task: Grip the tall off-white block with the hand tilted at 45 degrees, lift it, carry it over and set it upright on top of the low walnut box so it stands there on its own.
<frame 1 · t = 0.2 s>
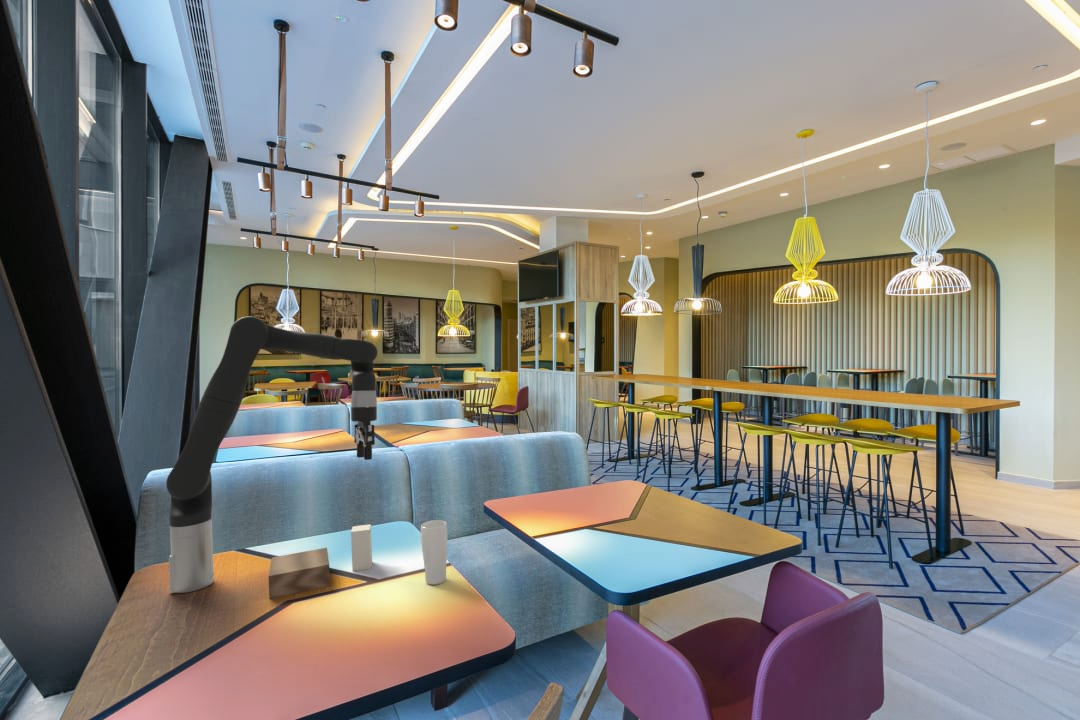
hand: (364, 458, 154), 29 cm above the table, tool pointing down, fingers open, 8 cm apart
offwhite block: (362, 566, 142), on the table
walnut box: (300, 583, 134), on the table
drinking glass: (436, 582, 130), on the table
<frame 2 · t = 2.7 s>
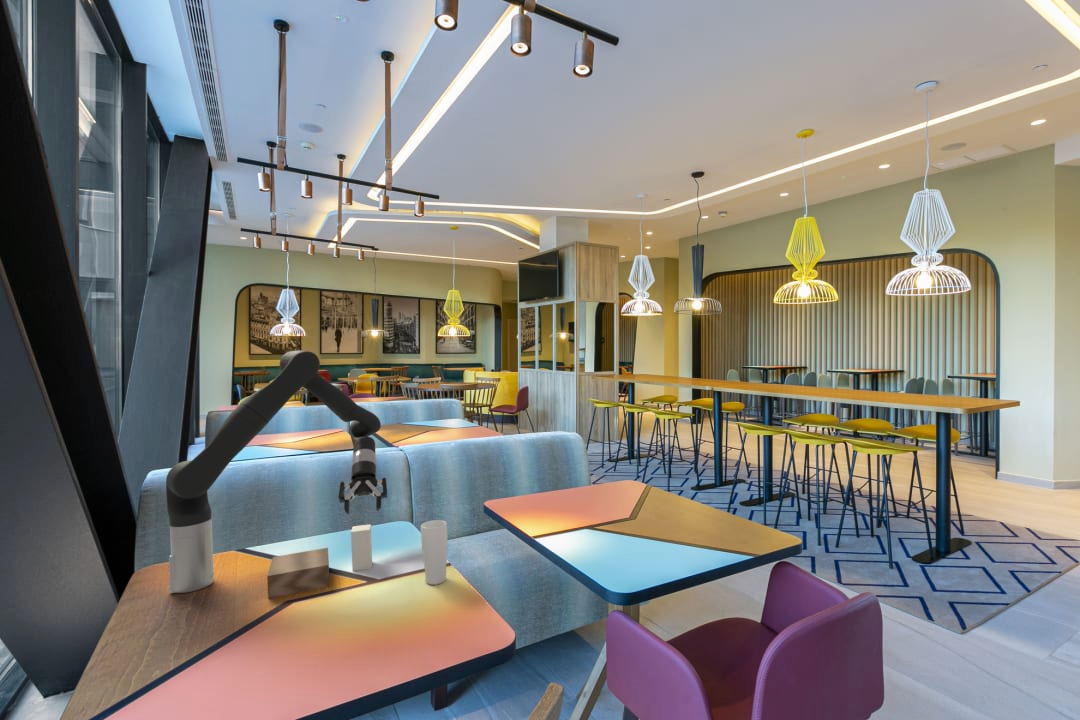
hand: (363, 511, 151), 13 cm above the table, tool tilted 45°, fingers open, 8 cm apart
nothing on the table moved.
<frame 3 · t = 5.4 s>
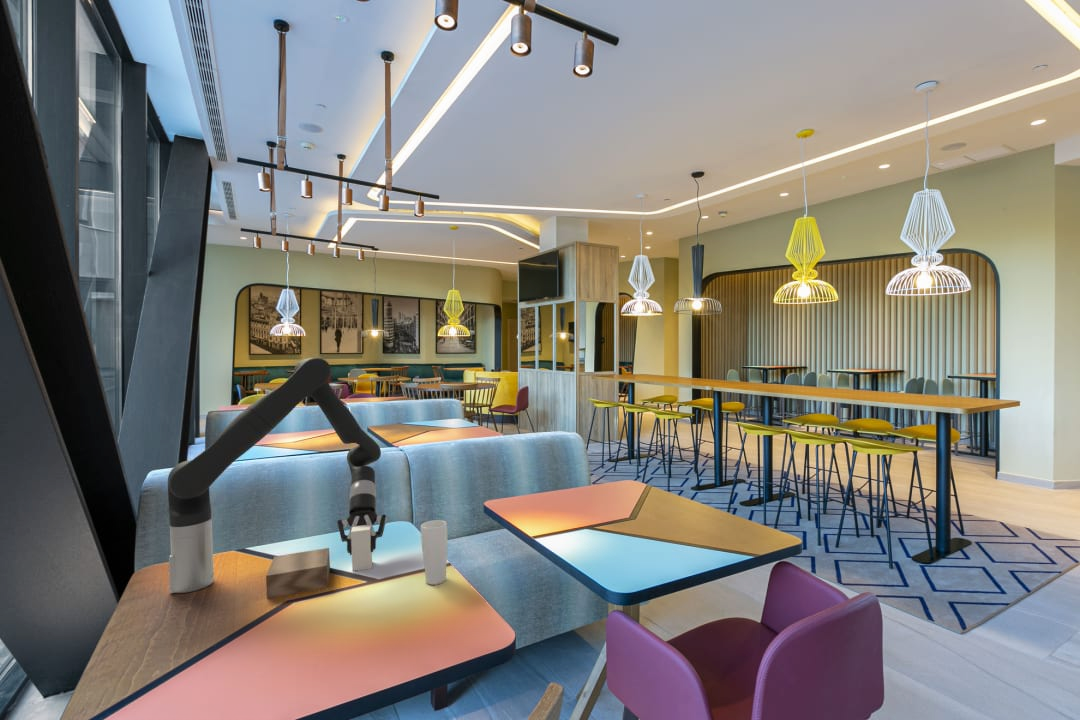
hand: (361, 551, 141), 5 cm above the table, tool tilted 45°, fingers closed on offwhite block, 5 cm apart
offwhite block: (362, 566, 142), on the table, touching gripper
everything else where it was.
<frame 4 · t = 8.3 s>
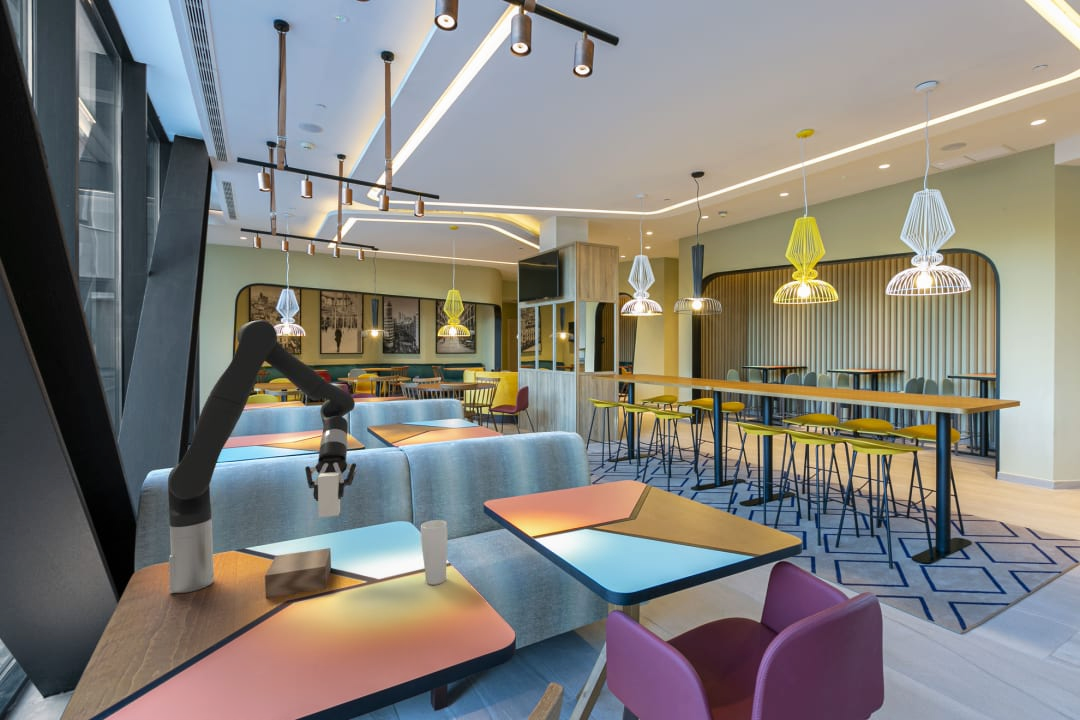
hand: (328, 498, 136), 21 cm above the table, tool tilted 45°, fingers closed on offwhite block, 5 cm apart
offwhite block: (329, 514, 138), point 17 cm above the table, touching gripper
everything else where it was.
when the fingers open (12 cm above the table, at t = 11.2 s): offwhite block drops 2 cm, resting on walnut box.
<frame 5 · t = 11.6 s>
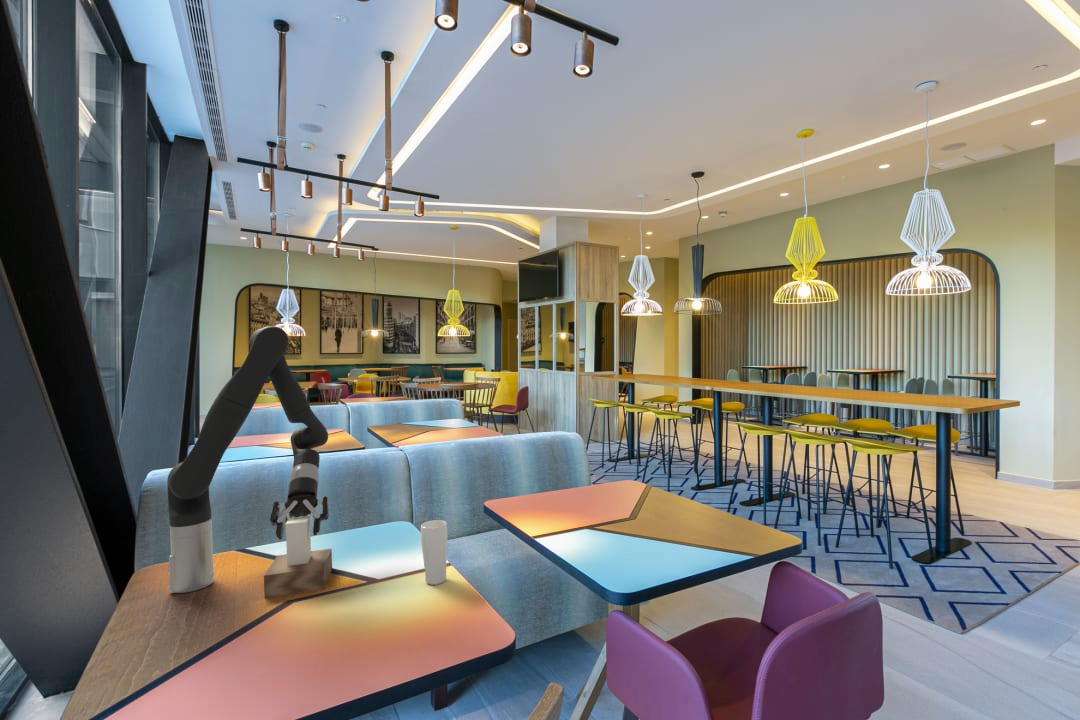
hand: (297, 535, 132), 13 cm above the table, tool tilted 45°, fingers open, 8 cm apart
offwhite block: (299, 561, 134), point 6 cm above the table, touching walnut box
walnut box: (300, 583, 134), on the table, touching offwhite block
everything else where it was.
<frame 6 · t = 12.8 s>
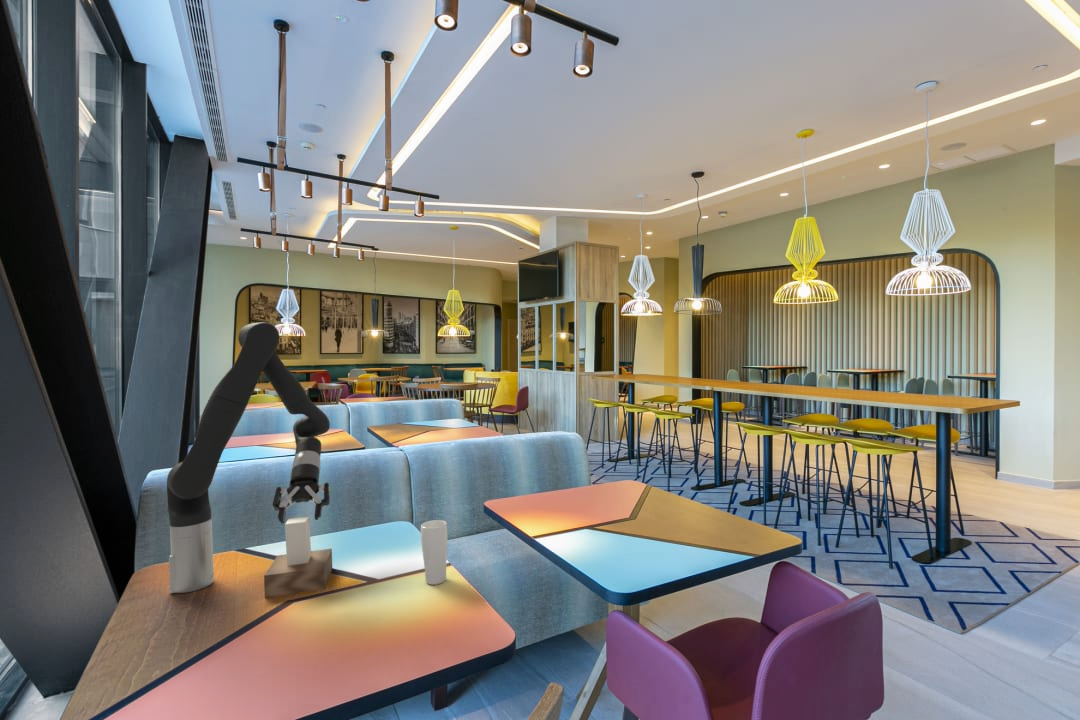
hand: (299, 520, 136), 16 cm above the table, tool tilted 45°, fingers open, 8 cm apart
offwhite block: (299, 560, 134), point 6 cm above the table
walnut box: (300, 583, 134), on the table
everything else where it was.
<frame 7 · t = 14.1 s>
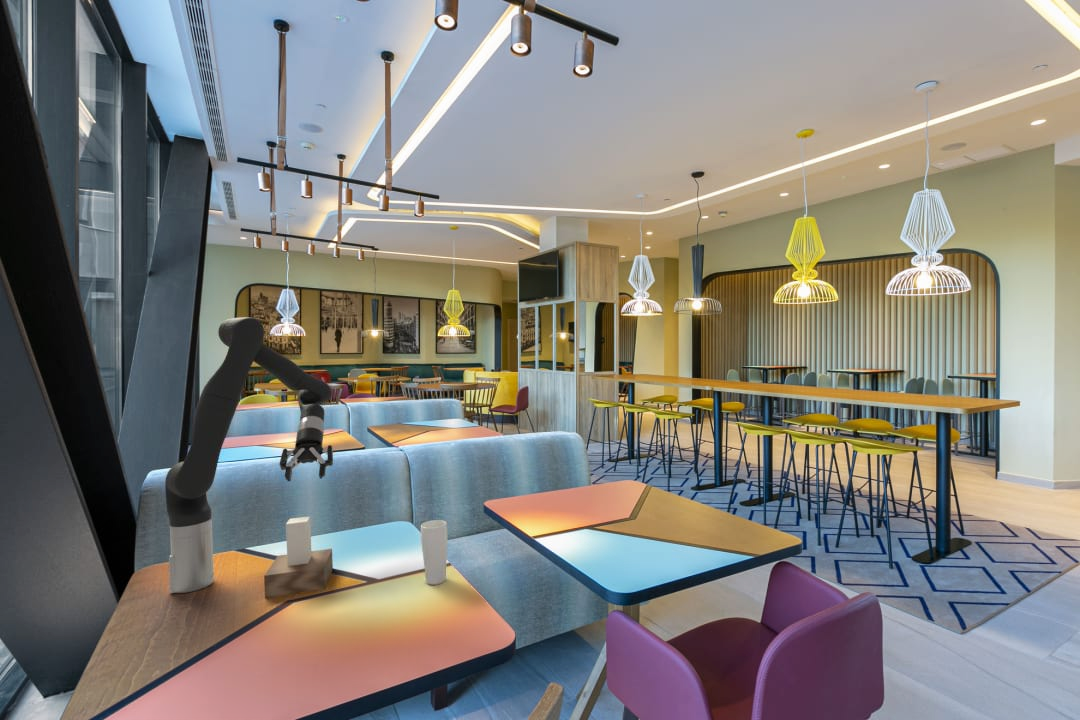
hand: (304, 478, 145), 25 cm above the table, tool tilted 45°, fingers open, 8 cm apart
offwhite block: (299, 561, 134), point 6 cm above the table, touching walnut box
walnut box: (301, 583, 133), on the table, touching offwhite block
everything else where it was.
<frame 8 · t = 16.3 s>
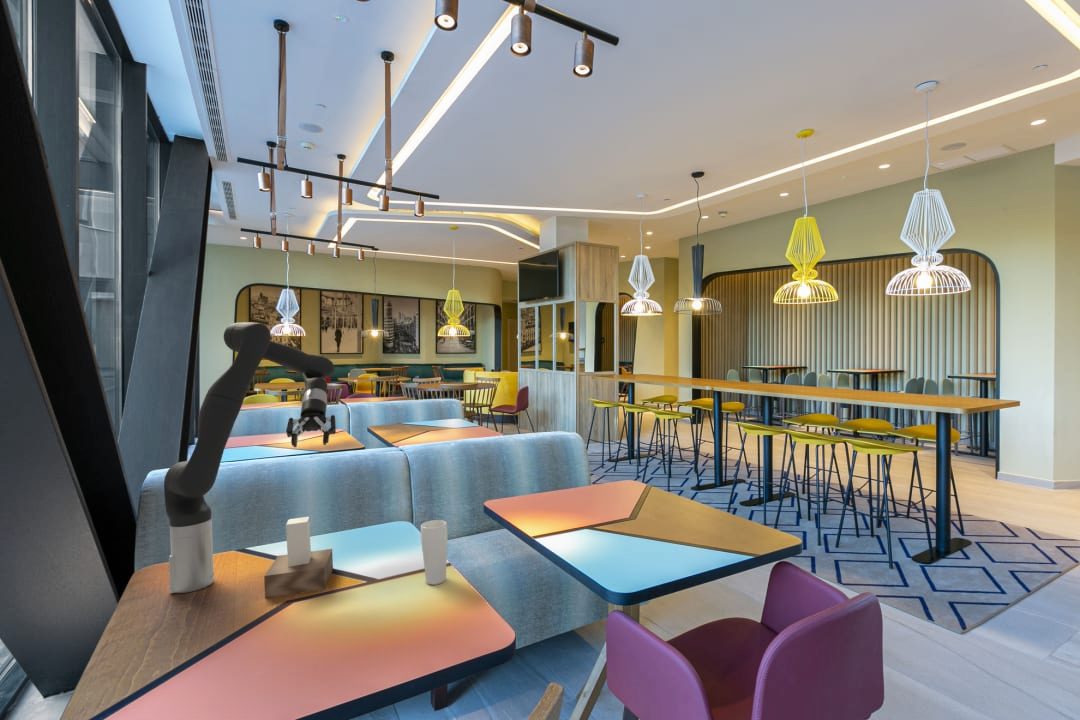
hand: (309, 444, 155), 34 cm above the table, tool tilted 45°, fingers open, 8 cm apart
offwhite block: (299, 561, 133), point 6 cm above the table
walnut box: (301, 583, 133), on the table
everything else where it was.
at the end: offwhite block inside the target area on the walnut box (0.1 cm from its centre), point 6.0 cm above the walnut box's base; offwhite block tilted 1°; the gripper is holding nothing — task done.
